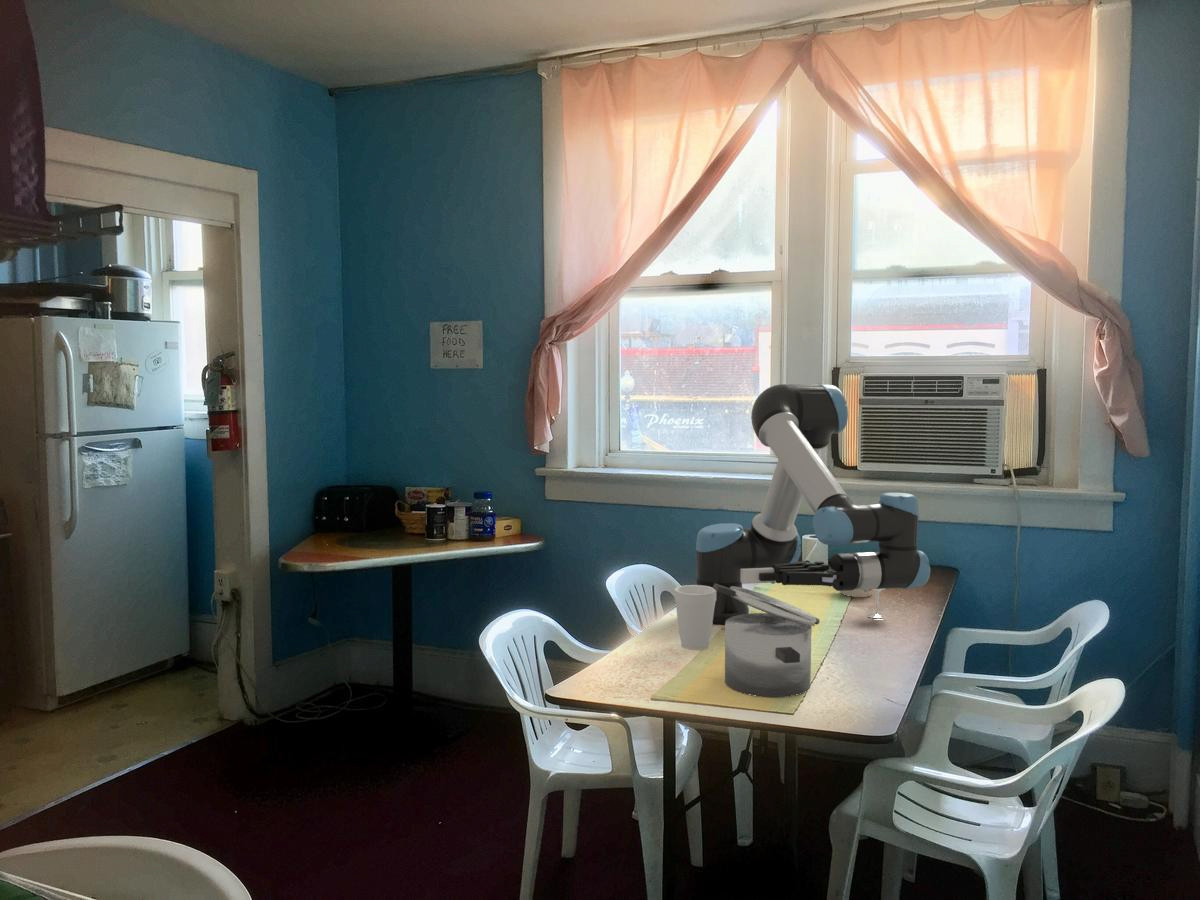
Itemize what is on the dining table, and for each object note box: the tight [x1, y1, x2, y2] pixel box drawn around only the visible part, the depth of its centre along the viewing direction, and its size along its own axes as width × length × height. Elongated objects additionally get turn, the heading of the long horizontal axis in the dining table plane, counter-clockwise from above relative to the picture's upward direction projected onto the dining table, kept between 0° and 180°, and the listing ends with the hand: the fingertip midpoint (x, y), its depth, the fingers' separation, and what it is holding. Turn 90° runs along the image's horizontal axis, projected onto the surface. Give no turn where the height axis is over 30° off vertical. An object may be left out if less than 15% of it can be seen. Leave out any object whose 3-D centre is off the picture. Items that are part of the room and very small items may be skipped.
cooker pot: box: [724, 612, 812, 698], centre depth 186 cm, size 17×26×12 cm, turn 10°
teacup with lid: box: [839, 589, 873, 598], centre depth 262 cm, size 12×9×12 cm
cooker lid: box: [713, 583, 821, 627], centre depth 185 cm, size 22×18×1 cm
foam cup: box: [674, 584, 716, 651], centre depth 211 cm, size 10×9×13 cm
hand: (741, 576), depth 184 cm, fingers closed
